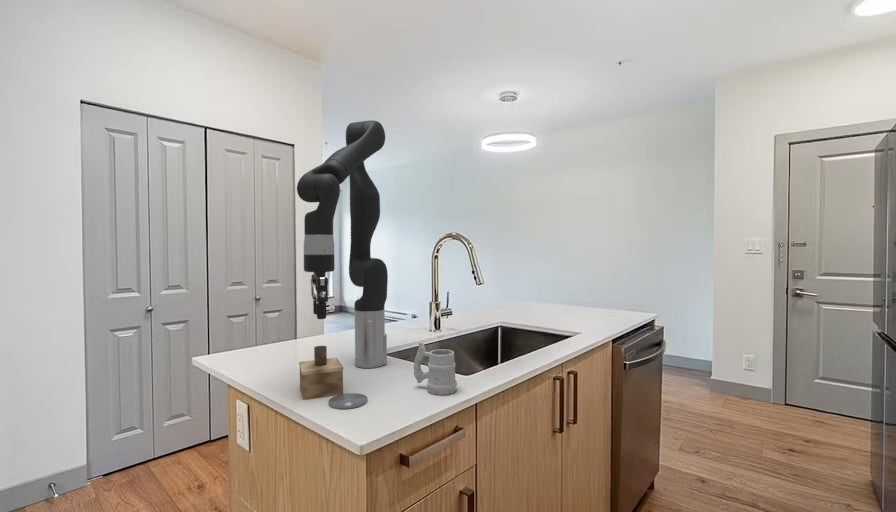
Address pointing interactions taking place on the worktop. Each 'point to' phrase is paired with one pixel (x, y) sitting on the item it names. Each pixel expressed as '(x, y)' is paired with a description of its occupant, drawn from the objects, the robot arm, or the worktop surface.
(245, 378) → the worktop surface
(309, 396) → the tea box
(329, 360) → the lid
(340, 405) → the coaster
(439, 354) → the mug
